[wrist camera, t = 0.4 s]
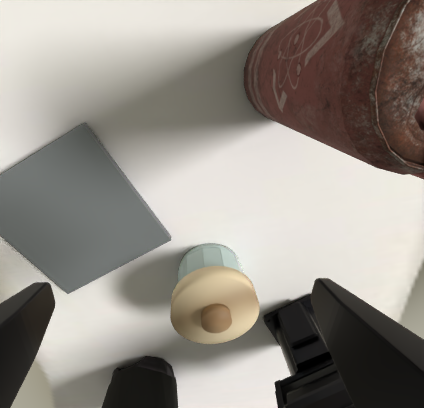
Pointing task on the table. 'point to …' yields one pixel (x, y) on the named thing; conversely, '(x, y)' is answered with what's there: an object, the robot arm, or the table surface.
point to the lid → (214, 305)
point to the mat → (75, 211)
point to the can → (347, 79)
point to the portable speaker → (143, 386)
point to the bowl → (208, 259)
